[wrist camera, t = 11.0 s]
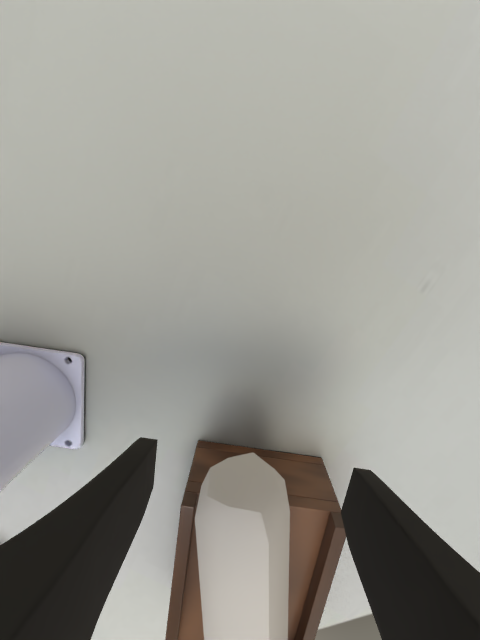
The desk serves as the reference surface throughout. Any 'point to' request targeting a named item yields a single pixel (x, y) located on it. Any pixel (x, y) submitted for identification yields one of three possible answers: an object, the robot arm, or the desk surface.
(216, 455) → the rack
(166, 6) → the desk surface
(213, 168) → the desk surface
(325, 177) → the desk surface
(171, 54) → the desk surface
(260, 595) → the tube
